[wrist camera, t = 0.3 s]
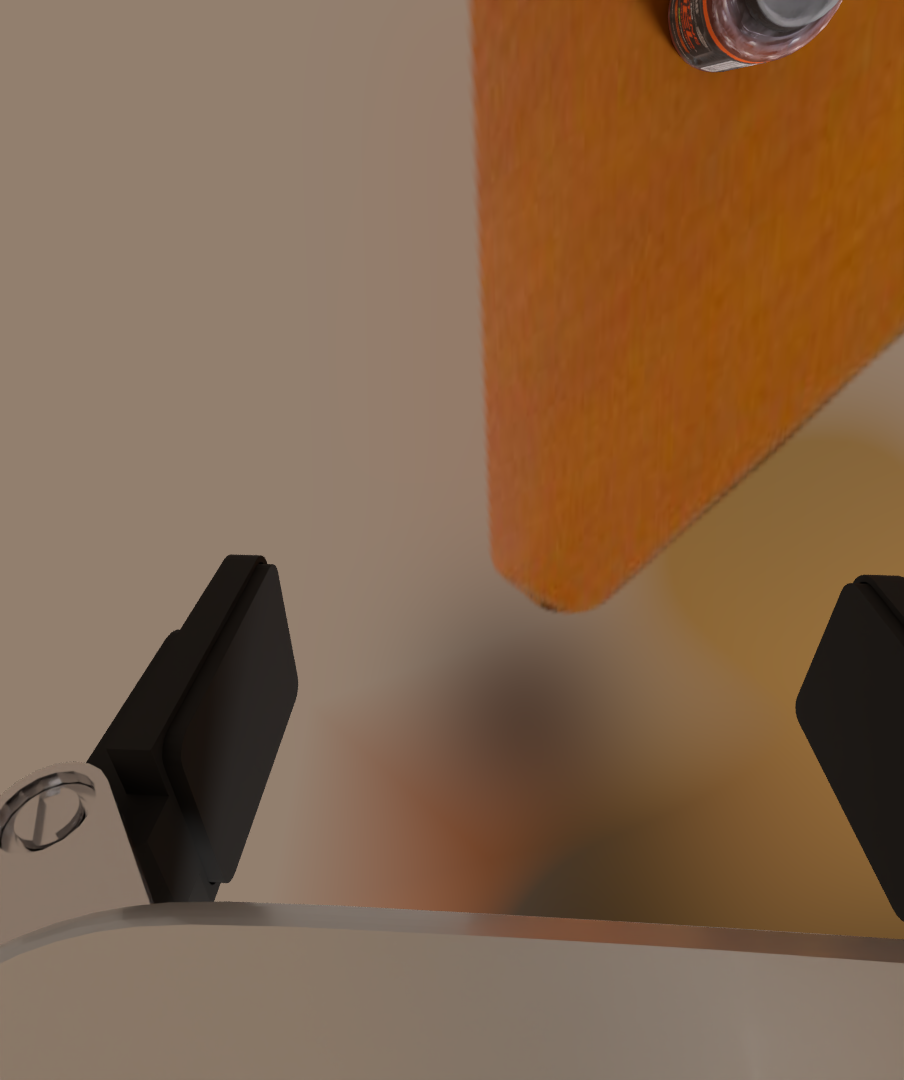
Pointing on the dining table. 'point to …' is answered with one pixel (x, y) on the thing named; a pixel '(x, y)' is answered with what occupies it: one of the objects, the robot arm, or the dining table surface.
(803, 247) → the dining table surface
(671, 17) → the supplement bottle
